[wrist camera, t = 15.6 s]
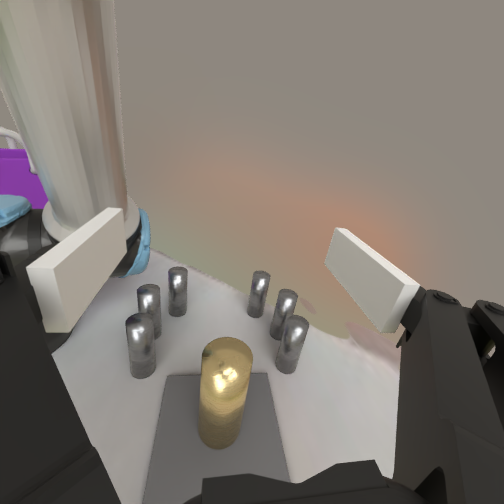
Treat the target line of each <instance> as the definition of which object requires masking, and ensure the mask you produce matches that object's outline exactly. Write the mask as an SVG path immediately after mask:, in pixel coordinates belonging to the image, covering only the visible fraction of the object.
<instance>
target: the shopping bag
mask: <svg viewBox="0 0 504 504" xmlns="http://www.w3.org/2000/svg"><path fill="white" fill-rule="evenodd" d="M0 136H4V137H5V138H6V140H7V142H8V145H9V149H1V148H0V195H14V196H22V197H25V198H27V199H28V201H29V202H30V203H31V204H32V208H33V209H44V207H45V205H46V203H47V202H48V201H49V200H48V198H47V195H46V193H45V191H44V188H43V186H42V184H41V182H40V179H39V177H38V175H37V172H36V170H35V168H34V166H33V163H32V161H31V159H30V156H29V154H28V152H27V150H26V147H25V145H24V143H23V140H22V138H21V136H20V134H18V133H16V132H14V131H11V130H8V129H5V128H3V127H1V126H0ZM15 140H16V141H18V142H19V143H20V144H21V145H22V146H23V147H24V148H25V149H17V145H16V142H15Z"/></svg>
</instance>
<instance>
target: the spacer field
mask: <svg viewBox="0 0 504 504" xmlns="http://www.w3.org/2000/svg"><path fill="white" fill-rule="evenodd" d="M187 272H188V271H187V269H186V268H184V267H173V268H171V269H169V271H168V276H169V314H170V315H172V316H174V317H179V316H183V315H184V314H185V313H186V309H187ZM269 281H270V275H269V274H268V273H267V272H264V271H256V272H254V274H253V280H252V286H251V292H250V298H249V304H248V310H247V313H248V315H249V316H251V317H254V318H259V317H261V316H262V315H263V310H264V305H265V301H266V296H267V290H268V285H269ZM137 298H138V310H139V313H136V314H134V315H132V316H130V317H129V318H128V319H127V320H126V323H125V324H126V333H127V341H128V350H129V358H130V367H131V374H132V376H133V377H135V378H137V379H143V378H146V377H148V376H150V375H151V374H152V373H153V372H154V370H155V367H156V365H155V345H154V340H156V339H157V338H159V337H160V335H161V308H160V288H159V286H157V285H154V284H146V285H143V286H141V287H139V288H138V289H137ZM297 298H298V295H297V294H296V293H295V292H294V291H292V290H289V289H282V290H280V291H279V295H278V299H277V303H276V308H275V312H274V316H273V321H272V325H271V329H270V335H271V336H272V337H273V338H274V339H276V340H282V341H281V344H280V348H279V352H278V356H277V359H276V367H277V369H278V370H279V371H280V372H282V373H284V374H291V373H293V372H294V371H295V369H296V365H297V362H298V359H299V356H300V353H301V350H302V347H303V344H304V341H305V337H306V334H307V331H308V328H309V323H308V321H307V320H306V319H305V318H303V317H301V316H298V315H293V313H294V309H295V305H296V302H297Z"/></svg>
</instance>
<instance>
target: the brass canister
mask: <svg viewBox="0 0 504 504" xmlns="http://www.w3.org/2000/svg"><path fill="white" fill-rule="evenodd" d="M252 362H253V355H252V352H251V350H250V348H249V347H248V346H247V345H246V344H245V343H244V342H242V341H241V340H239V339H236V338H232V337H222V338H218V339H215V340H213V341H212V342H210V343H209V344H208V345H207V346H206V347H205V349H204V351H203V353H202V365H201V383H200V402H199V420H198V432H199V436H200V438H201V440H202V442H203V443H204V444H205V445H206V446H207V447H209V448H211V449H215V450H221V449H225V448H227V447H229V446H231V445H232V444H233V443H234V442H235V440H236V439H237V437H238V435H239V432H240V427H241V422H242V416H243V411H244V405H245V400H246V395H247V389H248V384H249V378H250V373H251V368H252Z"/></svg>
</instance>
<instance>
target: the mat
mask: <svg viewBox="0 0 504 504" xmlns="http://www.w3.org/2000/svg"><path fill="white" fill-rule="evenodd" d="M200 383H201V375H181V376H167V379H166V384H165V389H164V395H163V400H162V405H161V410H160V415H159V421H158V426H157V431H156V436H155V441H154V446H153V452H152V457H151V462H150V467H149V472H148V478H147V483H146V488H145V493H144V498H143V503H142V504H183V503H184V502H186V501H187V500H189V499H191V498H193V497H195V496H197V495H199V494H201V489H202V479H203V478H209V477H219V476H228V475H237V474H246V473H251V474H255V475H259V476H264V477H268V478H273V479H277V480H281V481H286V482H290V479H289V474H288V469H287V465H286V460H285V455H284V451H283V446H282V441H281V437H280V432H279V427H278V423H277V418H276V413H275V409H274V404H273V399H272V395H271V390H270V385H269V381H268V376H267V373H250V378H249V384H248V389H247V395H246V400H245V405H244V411H243V416H242V422H241V427H240V432H239V435H238V437H237V439H236V440H235V442H234V443H233V444H232V445H231V446H229V447H227V448H225V449H221V450H215V449H211V448H209V447H207V446H206V445H205V444H204V443H203V442H202V440H201V438H200V436H199V432H198V420H199V402H200Z"/></svg>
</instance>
